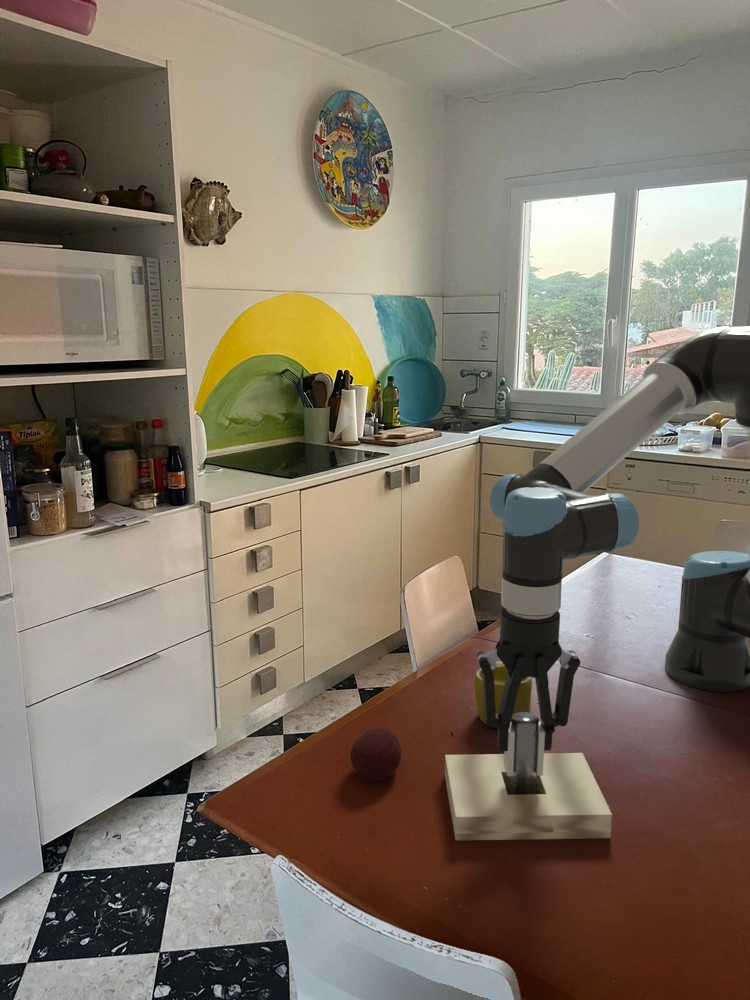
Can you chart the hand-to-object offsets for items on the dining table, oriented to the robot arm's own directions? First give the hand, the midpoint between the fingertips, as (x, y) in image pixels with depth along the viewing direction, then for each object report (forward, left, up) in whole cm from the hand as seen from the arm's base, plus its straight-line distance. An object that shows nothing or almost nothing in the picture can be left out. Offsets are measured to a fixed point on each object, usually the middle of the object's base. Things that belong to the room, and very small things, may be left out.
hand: (523, 769), depth 104 cm
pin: (0, 0, -4) cm, 4 cm away
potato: (+20, -9, -6) cm, 22 cm away
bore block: (0, 0, -6) cm, 6 cm away
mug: (-2, -25, -6) cm, 26 cm away
